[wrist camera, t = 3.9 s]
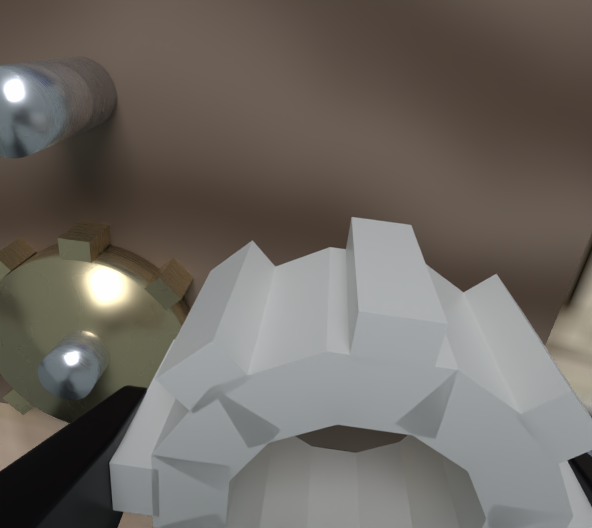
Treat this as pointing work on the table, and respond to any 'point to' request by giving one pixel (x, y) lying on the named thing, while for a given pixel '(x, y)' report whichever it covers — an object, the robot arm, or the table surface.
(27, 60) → the gear board
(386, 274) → the pale gear
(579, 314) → the table surface
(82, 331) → the brass gear
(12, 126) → the peg
